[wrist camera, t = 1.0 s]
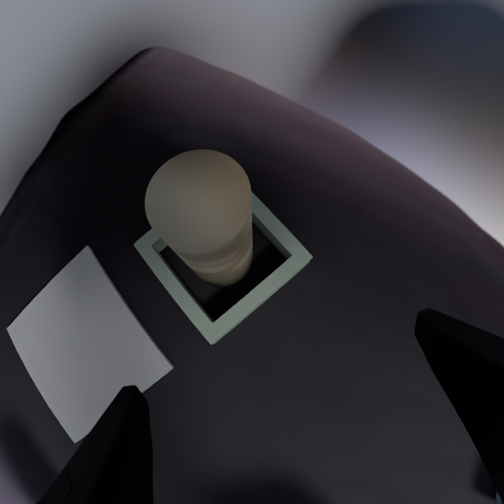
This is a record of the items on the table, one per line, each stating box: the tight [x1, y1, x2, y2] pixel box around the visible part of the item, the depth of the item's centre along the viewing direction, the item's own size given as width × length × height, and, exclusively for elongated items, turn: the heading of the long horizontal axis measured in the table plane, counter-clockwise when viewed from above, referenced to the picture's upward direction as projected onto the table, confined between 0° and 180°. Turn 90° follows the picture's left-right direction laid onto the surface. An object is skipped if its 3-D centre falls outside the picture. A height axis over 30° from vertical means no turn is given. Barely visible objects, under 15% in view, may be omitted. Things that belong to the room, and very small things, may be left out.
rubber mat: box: [7, 246, 174, 443], centre depth 21 cm, size 12×12×1 cm
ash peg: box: [145, 150, 253, 287], centre depth 18 cm, size 4×4×11 cm
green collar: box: [133, 192, 312, 344], centre depth 22 cm, size 9×9×2 cm
